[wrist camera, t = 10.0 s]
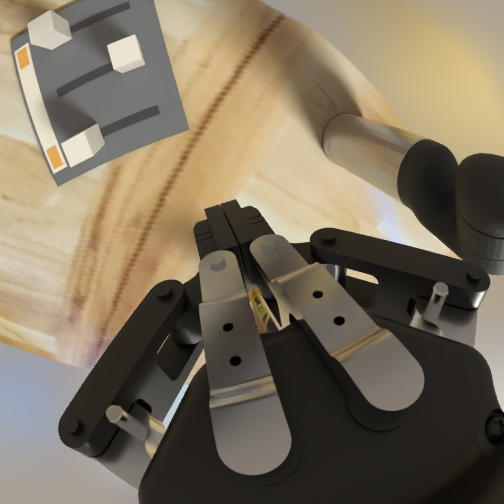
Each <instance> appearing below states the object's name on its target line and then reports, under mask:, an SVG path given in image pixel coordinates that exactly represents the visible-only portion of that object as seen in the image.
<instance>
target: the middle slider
mask: <svg viewBox="0 0 504 504" xmlns="http://www.w3.org/2000/svg"><path fill="white" fill-rule="evenodd" d="M107 47H108V51H109V55H110V58H111V62H112V65H113V69H114V70H116V71H118V72H121V73H125V72H127V71H130V70H132V69H135V68H138V67H140V66H143V65H145V61H144V58H143V54H142V51H141V47H140V44H139V42H138V39H137V37H136V35H135V34H134V35H132V36H129V37H126V38H124V39H121V40H119V41H116V42H114V43H111V44H109V45H107Z"/></svg>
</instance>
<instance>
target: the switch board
mask: <svg viewBox="0 0 504 504" xmlns="http://www.w3.org/2000/svg"><path fill="white" fill-rule="evenodd" d="M56 14H58V15H59V16H61V17H62V18H64V19H65V20H67V21H68V22H69V27H70V32H71V36H72V39H71V40H69V41H67V42H65V43H63V44H62V45H60V46H58V47H56V48H54V49H53V50H51V49H47V48H44V47H40V46H36V45H33V44H31V42H30V37H29V32H28V31H27V32H25V33H24V34H22V35H21V36H19V37H18V38H16V39H15V40H14V41H12V42H11V46H12V51H13V56H14V61H15V66H16V70H17V74H18V78H19V82H20V86H21V90H22V93H23V97H24V100H25V103H26V107H27V110H28V113H29V116H30V119H31V122H32V125H33V128H34V130H35V133H36V136H37V139H38V141H39V144H40V146H41V149H42V152H43V154H44V156H45V159H46V161H47V164H48V166H49V168H50V171H51V173H52V175H53V177H54V180H55V182H56V184H57V186H58V187H59V186H60V185H62V184H64V183H66V182H68V181H70V180H72V179H73V178H75V177H77V176H79V175H81V174H83V173H85V172H87V171H89V170H91V169H93V168H96V167H98V166H100V165H102V164H104V163H106V162H108V161H111V160H113V159H115V158H117V157H120V156H122V155H124V154H127V153H129V152H131V151H134V150H136V149H139V148H141V147H143V146H146V145H149V144H151V143H154V142H156V141H159V140H162V139H164V138H167V137H170V136H173V135H176V134H178V133H181V132H184V131H187V130H190V129H189V126H188V123H187V119H186V116H185V112H184V109H183V106H182V102H181V99H180V95H179V92H178V88H177V85H176V81H175V78H174V74H173V71H172V67H171V64H170V60H169V56H168V53H167V49H166V46H165V42H164V38H163V34H162V31H161V27H160V23H159V19H158V16H157V12H156V8H155V4H154V0H82V1H80V2H78V3H75V4H73V5H71V6H69V7H67V8H66V9H64V10H62V11H60V12H58V13H56ZM134 34H135V35H136V37H137V39H138V42H139V44H140V47H141V51H142V54H143V58H144V61H145V65H143V66H140V67H138V68H135V69H132V70H130V71H127V72H125V73H121V72H118V71H116V70H114V69H113V65H112V62H111V58H110V55H109V51H108V47H107V45H109V44H111V43H114V42H116V41H119V40H121V39H124V38H126V37H129V36H132V35H134ZM97 123H98V126H99V129H100V131H101V134H102V137H103V139H104V142H105V144H104V145H103V146H102V147H101V148H100V150H99V151H98V152H97V153H96V154H95V155H94V156H92V157H90V158H88V159H86V160H84V161H82V162H80V163H78V164H77V165H75V166H73V167H70V165H69V162H68V160H67V157H66V155H65V153H64V150H63V148H62V145H61V143H63V142H64V141H66V140H68V139H69V138H71V137H72V136H74V135H76V134H77V133H79V132H81V131H83V130H85V129H87V128H89V127H91V126H93V125H95V124H97Z"/></svg>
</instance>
